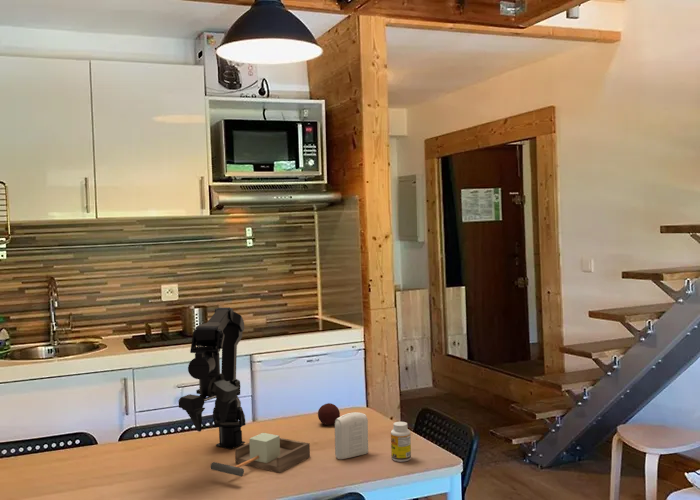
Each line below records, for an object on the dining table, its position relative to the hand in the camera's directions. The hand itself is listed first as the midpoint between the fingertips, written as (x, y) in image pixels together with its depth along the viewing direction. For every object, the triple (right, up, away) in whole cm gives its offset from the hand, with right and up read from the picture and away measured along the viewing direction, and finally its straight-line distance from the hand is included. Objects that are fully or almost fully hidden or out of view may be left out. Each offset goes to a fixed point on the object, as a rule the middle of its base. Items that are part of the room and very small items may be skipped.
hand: (211, 426), depth 188 cm
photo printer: (+39, -11, +9) cm, 41 cm away
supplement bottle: (+53, -11, +5) cm, 54 cm away
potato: (+31, -10, +40) cm, 52 cm away
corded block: (+11, -10, -2) cm, 15 cm away
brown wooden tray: (+16, -11, +7) cm, 21 cm away
